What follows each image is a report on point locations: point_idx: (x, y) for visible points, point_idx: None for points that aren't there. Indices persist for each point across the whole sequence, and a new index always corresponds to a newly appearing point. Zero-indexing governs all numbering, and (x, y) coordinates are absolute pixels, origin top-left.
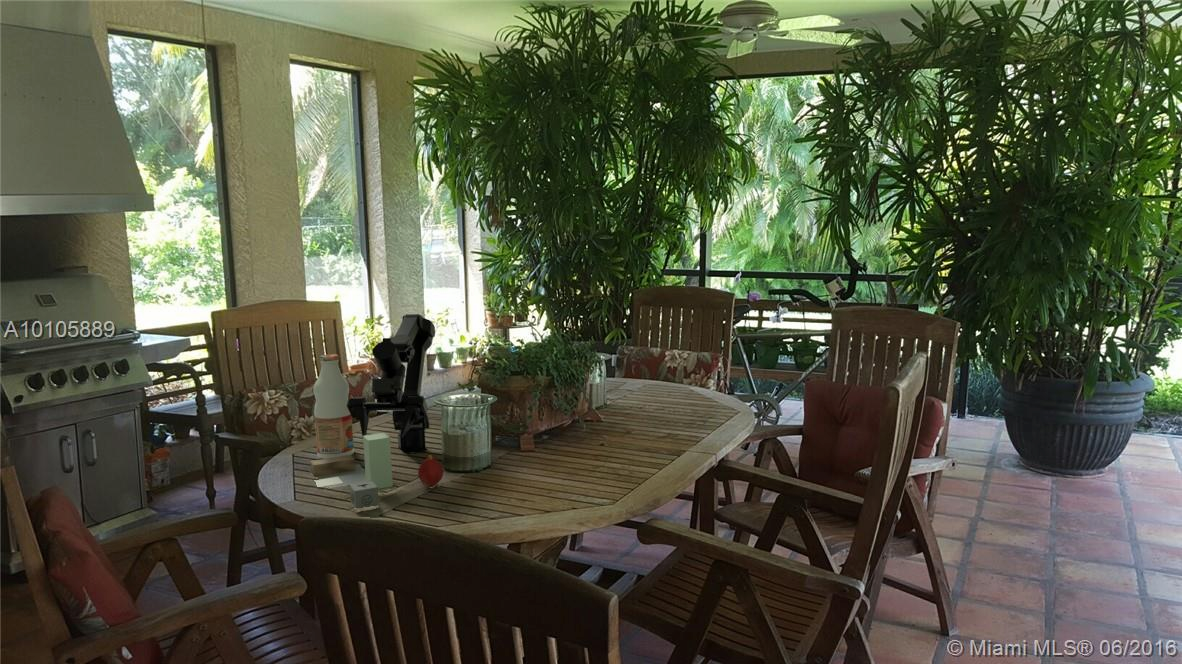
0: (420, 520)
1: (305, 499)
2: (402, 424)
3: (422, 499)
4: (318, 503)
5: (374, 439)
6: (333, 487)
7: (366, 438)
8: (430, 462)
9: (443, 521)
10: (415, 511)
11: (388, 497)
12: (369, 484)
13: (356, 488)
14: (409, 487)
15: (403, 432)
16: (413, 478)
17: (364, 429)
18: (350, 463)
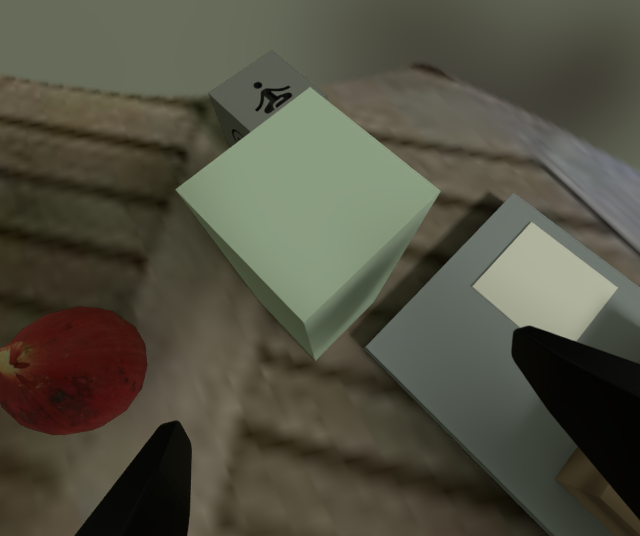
0: (75, 98)
1: (510, 171)
2: (121, 531)
3: (118, 243)
4: (442, 150)
5: (276, 114)
6: (474, 236)
7: (358, 128)
8: (24, 334)
9: (8, 104)
10: (109, 149)
11: None
12: (253, 110)
13: (279, 69)
14: (213, 355)
15: (142, 452)
16: (244, 480)
17: (567, 359)
18: (595, 470)
